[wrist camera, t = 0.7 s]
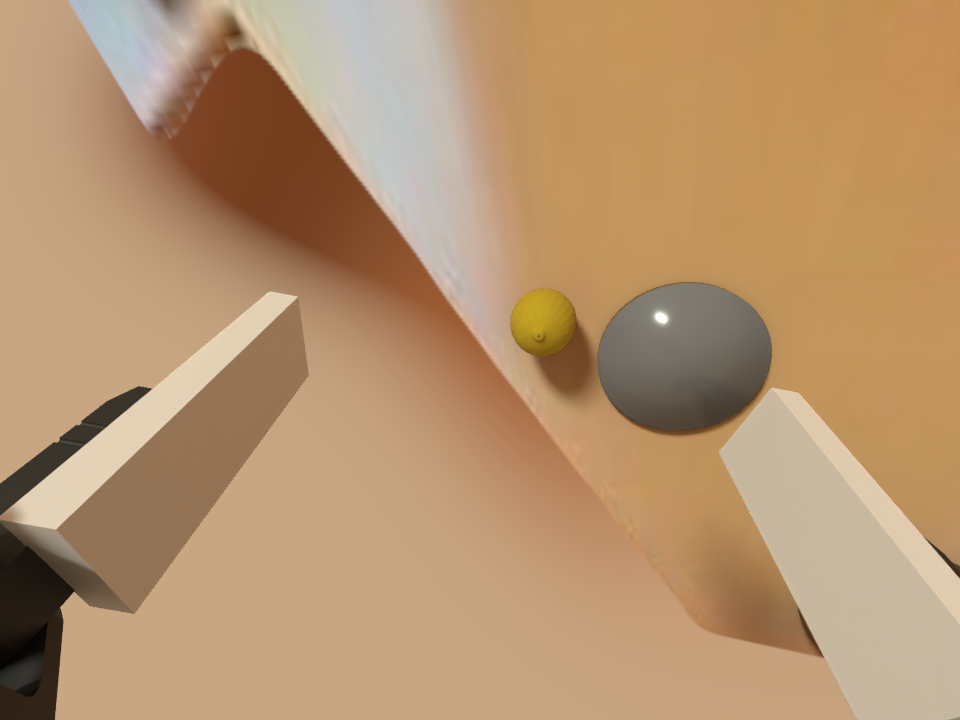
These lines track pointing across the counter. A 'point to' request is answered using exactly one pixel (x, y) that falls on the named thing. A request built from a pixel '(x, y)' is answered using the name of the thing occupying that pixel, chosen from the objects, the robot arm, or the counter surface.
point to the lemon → (543, 322)
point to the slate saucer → (684, 356)
